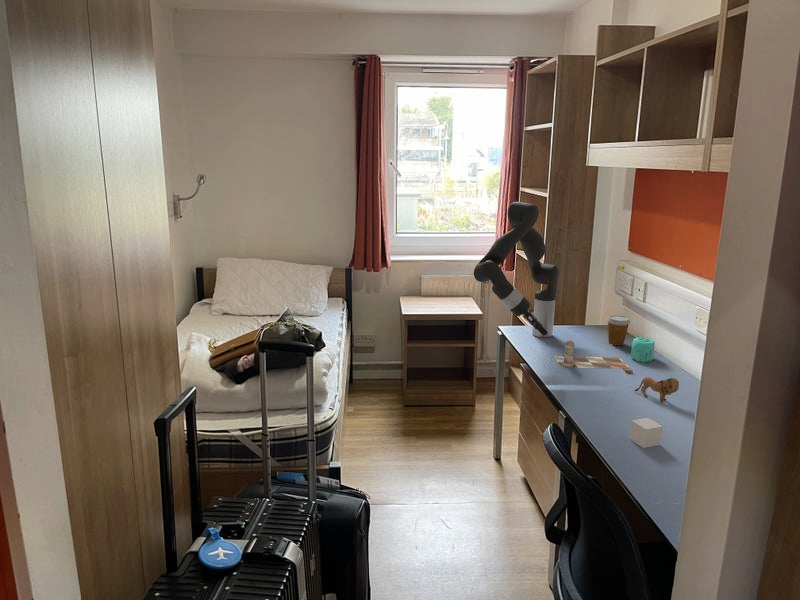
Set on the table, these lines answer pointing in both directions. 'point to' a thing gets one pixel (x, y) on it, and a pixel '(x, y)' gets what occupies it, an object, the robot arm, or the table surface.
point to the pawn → (568, 354)
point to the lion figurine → (660, 387)
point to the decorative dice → (642, 349)
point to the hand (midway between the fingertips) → (543, 330)
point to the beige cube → (645, 432)
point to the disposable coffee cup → (617, 329)
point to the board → (584, 363)
